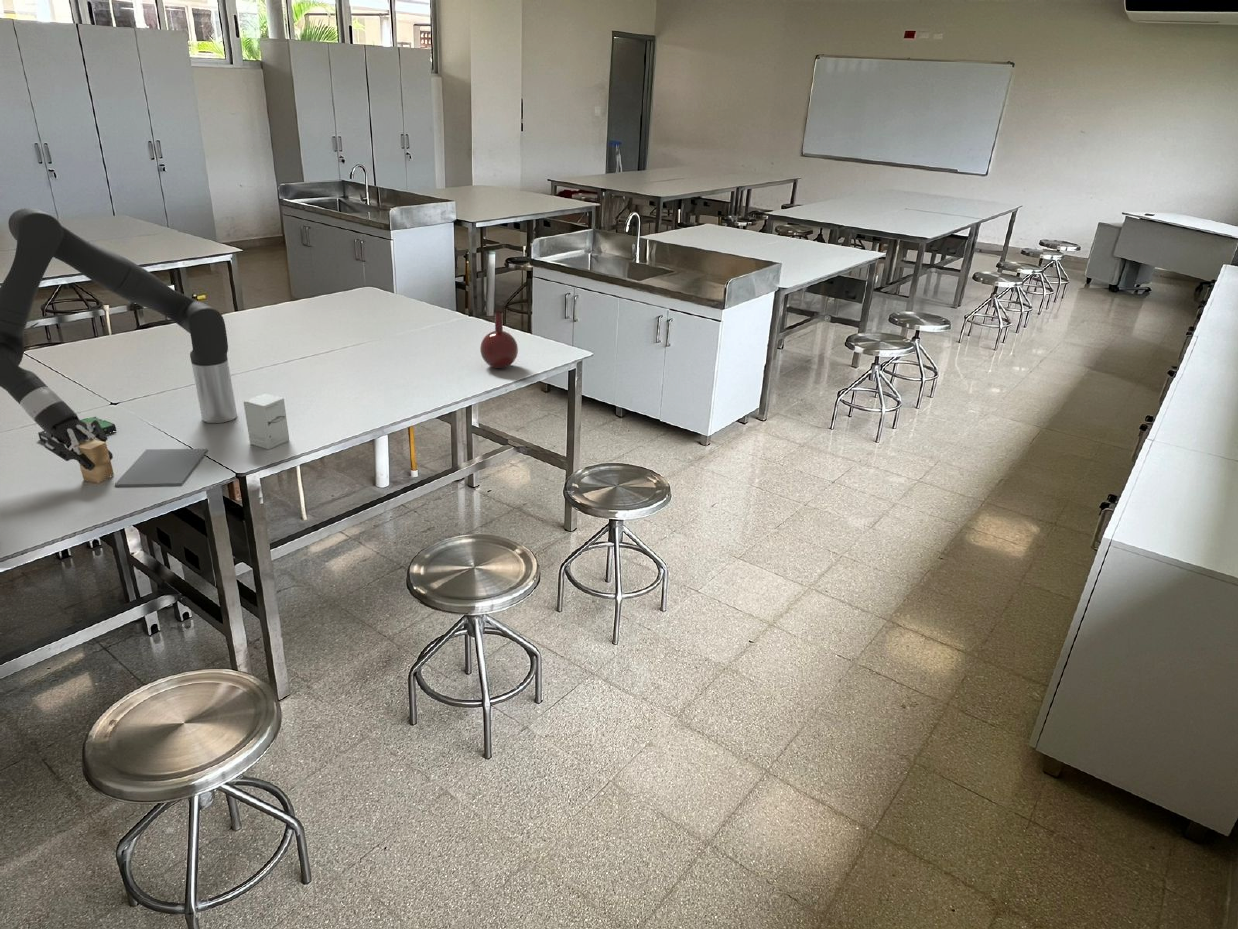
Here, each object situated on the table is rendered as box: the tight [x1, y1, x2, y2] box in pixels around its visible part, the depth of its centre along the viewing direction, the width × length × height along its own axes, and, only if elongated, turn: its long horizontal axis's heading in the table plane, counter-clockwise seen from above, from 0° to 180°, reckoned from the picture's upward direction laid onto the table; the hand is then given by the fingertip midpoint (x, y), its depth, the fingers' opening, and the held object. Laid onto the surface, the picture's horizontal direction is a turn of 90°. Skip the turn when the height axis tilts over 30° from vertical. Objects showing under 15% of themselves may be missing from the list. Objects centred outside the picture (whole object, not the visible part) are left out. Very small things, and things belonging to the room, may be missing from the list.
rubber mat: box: [113, 448, 209, 487], centre depth 200 cm, size 20×15×1 cm
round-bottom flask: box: [479, 310, 519, 369], centre depth 278 cm, size 13×13×20 cm
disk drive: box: [37, 416, 117, 448], centre depth 214 cm, size 10×3×15 cm
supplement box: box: [243, 393, 290, 450], centre depth 214 cm, size 7×7×13 cm
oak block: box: [78, 440, 115, 484], centre depth 191 cm, size 4×4×9 cm
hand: (101, 463), depth 191 cm, fingers closed on oak block, 4 cm apart
